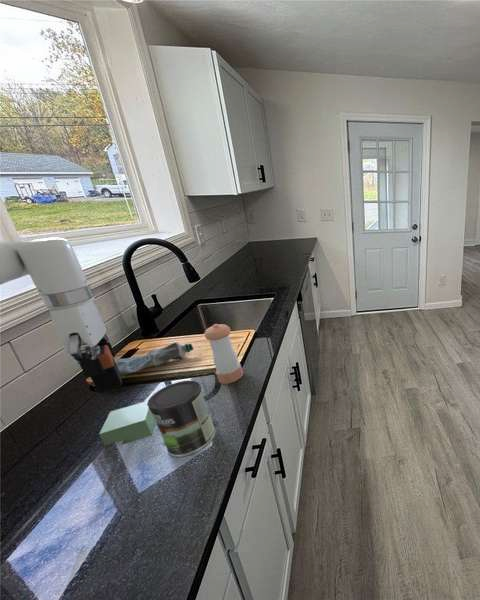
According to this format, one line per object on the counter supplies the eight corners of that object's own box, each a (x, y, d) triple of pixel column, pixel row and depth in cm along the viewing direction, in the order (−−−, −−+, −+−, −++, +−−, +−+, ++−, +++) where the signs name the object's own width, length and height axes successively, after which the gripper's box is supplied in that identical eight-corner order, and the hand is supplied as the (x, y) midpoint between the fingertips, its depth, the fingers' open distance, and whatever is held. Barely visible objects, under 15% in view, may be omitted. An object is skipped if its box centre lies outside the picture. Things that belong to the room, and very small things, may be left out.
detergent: (104, 390, 99) (195, 362, 110) (94, 370, 96) (188, 344, 108) (113, 373, 110) (195, 349, 121) (105, 355, 107) (190, 332, 119)
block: (107, 450, 76) (98, 434, 74) (117, 426, 83) (110, 411, 82) (152, 435, 80) (145, 419, 78) (158, 413, 87) (152, 399, 85)
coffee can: (188, 462, 71) (168, 413, 66) (157, 451, 75) (136, 403, 69) (225, 429, 80) (210, 384, 75) (196, 421, 84) (180, 377, 78)
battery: (98, 395, 72) (80, 357, 68) (98, 382, 77) (81, 347, 73) (123, 386, 75) (106, 350, 71) (121, 374, 79) (105, 340, 76)
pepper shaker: (228, 370, 106) (212, 319, 99) (247, 371, 105) (233, 319, 98) (213, 383, 99) (195, 329, 92) (234, 384, 98) (218, 330, 91)
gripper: (63, 289, 73) (94, 354, 79) (23, 314, 59) (65, 391, 65) (104, 283, 76) (130, 346, 83) (75, 305, 62) (111, 380, 68)
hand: (101, 365), depth 74 cm, fingers closed on battery, 7 cm apart
